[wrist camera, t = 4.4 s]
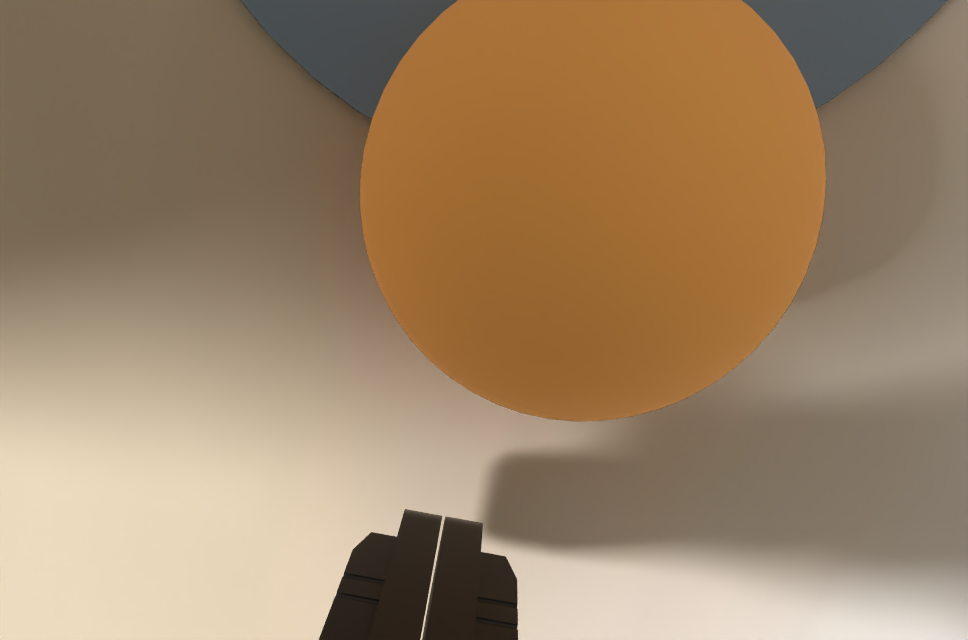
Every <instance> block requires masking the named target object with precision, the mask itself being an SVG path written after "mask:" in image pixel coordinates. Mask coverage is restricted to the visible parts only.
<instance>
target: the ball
mask: <svg viewBox="0 0 968 640" xmlns="http://www.w3.org/2000/svg"><path fill="white" fill-rule="evenodd" d="M825 191H826V165H825V148H824V143H823V138H822V132H821V127H820V122H819V117H818V114H817V111H816V108H815V105H814V102H813V99H812V96H811V94H810V91H809V88H808V86H807V84H806V82H805V80H804V78H803V76H802V74H801V72H800V70H799V68H798V66H797V64H796V62H795V60H794V58H793V57H792V55H791V54H790V53H789V51H788V50H787V48H786V47H785V46H784V44H783V43H782V41H781V40H780V39H779V37H778V36H777V34H776V33H775V32H774V31H773V30H772V29H771V28H770V27H769V25H768V24H767V23H766V22H765V21H764V20H763V19H762V18H761V17H760V16H759V15H758V14H757V13H756V12H755V11H754V10H753V9H752V8H751V7H750V6H748V5H747V4H746V3H744V2H743V1H742V0H458V1H457V2H455V3H454V4H453V5H451V6H450V7H449V8H448V9H446V10H445V11H444V12H442V13H441V14H440V15H439V16H438V17H437V19H436V20H435V21H434V22H433V23H432V24H431V25H430V26H429V27H428V28H427V29H426V30H425V31H424V32H423V33H422V34H421V35H420V36H419V37H418V38H417V40H416V41H415V42H414V44H413V45H412V46H411V48H410V49H409V50H408V52H407V53H406V54H405V56H404V57H403V58H402V60H401V61H400V62H399V64H398V66H397V68H396V69H395V71H394V73H393V75H392V76H391V78H390V80H389V82H388V83H387V85H386V87H385V89H384V91H383V93H382V96H381V98H380V101H379V103H378V106H377V108H376V111H375V113H374V115H373V118H372V121H371V125H370V129H369V133H368V136H367V140H366V144H365V148H364V154H363V162H362V169H361V177H360V211H361V220H362V228H363V237H364V241H365V245H366V249H367V253H368V257H369V261H370V265H371V267H372V270H373V272H374V275H375V278H376V280H377V283H378V285H379V288H380V290H381V292H382V294H383V296H384V298H385V300H386V302H387V303H388V305H389V307H390V309H391V311H392V313H393V315H394V316H395V318H396V320H397V321H398V322H399V324H400V325H401V327H402V328H403V329H404V331H405V332H406V334H407V335H408V336H409V338H410V339H411V340H412V342H413V343H414V344H415V345H416V346H417V347H418V348H419V349H420V350H421V351H422V352H423V354H424V355H425V356H426V357H427V358H428V359H429V360H430V361H431V362H432V363H434V364H435V365H436V366H437V367H438V368H439V369H441V370H442V371H443V372H444V373H445V374H447V375H448V376H449V377H450V378H452V379H453V380H455V381H456V382H458V383H459V384H461V385H462V386H464V387H465V388H467V389H468V390H470V391H471V392H473V393H475V394H477V395H479V396H481V397H483V398H485V399H487V400H489V401H491V402H493V403H495V404H498V405H501V406H504V407H506V408H509V409H512V410H515V411H518V412H521V413H525V414H529V415H534V416H538V417H543V418H547V419H557V420H567V421H604V420H611V419H618V418H625V417H631V416H635V415H639V414H642V413H646V412H650V411H654V410H657V409H661V408H663V407H666V406H668V405H671V404H673V403H676V402H678V401H681V400H683V399H686V398H687V397H689V396H691V395H693V394H695V393H697V392H698V391H700V390H702V389H704V388H706V387H708V386H710V385H711V384H713V383H714V382H715V381H717V380H718V379H720V378H721V377H722V376H724V375H725V374H727V373H728V372H730V371H731V370H732V369H734V368H735V367H736V366H737V365H738V364H739V363H740V362H742V361H743V360H744V359H745V358H746V357H747V356H748V355H749V354H750V353H752V352H753V351H754V350H755V349H756V348H757V347H758V346H759V344H760V343H761V342H762V341H763V340H764V339H765V338H766V336H767V335H768V334H769V333H770V332H771V331H772V330H773V328H774V327H775V326H776V324H777V323H778V321H779V320H780V319H781V317H782V316H783V314H784V313H785V311H786V310H787V308H788V307H789V305H790V304H791V302H792V301H793V299H794V297H795V295H796V293H797V291H798V289H799V287H800V285H801V283H802V281H803V279H804V277H805V275H806V273H807V270H808V267H809V264H810V261H811V259H812V256H813V253H814V250H815V248H816V245H817V240H818V236H819V231H820V227H821V222H822V218H823V213H824V202H825Z"/></svg>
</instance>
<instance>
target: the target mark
mask: <svg viewBox="0 0 968 640" xmlns="http://www.w3.org/2000/svg"><path fill="white" fill-rule="evenodd" d="M241 1H242V2H243V4H244V5H245V6H246V7H247V9H248V10H249V11H250V12H251V13H252V15H253V16H254V17H255V18H256V20H257V21H258V22H259V23H260V25H261V26H262V27H263V28H264V29H265V31H266V32H267V33H268V34H269V35H270V36H271V37H272V38H273V39H274V40H275V41H276V42H277V43H278V44H279V45H280V46H281V47H282V48H283V49H284V50H285V51H286V52H287V53H288V54H289V55H290V56H291V57H292V58H293V59H294V60H295V61H296V62H298V63H299V64H300V65H301V66H302V67H303V68H304V69H305V70H306V71H307V72H308V73H309V74H310V75H311V76H312V77H313V78H315V79H316V80H317V81H319V82H320V83H321V84H323V85H324V86H325V87H326V88H328V89H329V90H330V91H332V92H333V93H334V94H336V95H337V96H338V97H340V98H341V99H342V100H344V101H345V102H346V103H348V104H349V105H350V106H352V107H353V108H354V109H356V110H357V111H358V112H360V113H362V114H364V115H365V116H367V117H369V118H371V119H372V118H373V115H374V113H375V111H376V108H377V106H378V103H379V101H380V98H381V96H382V93H383V91H384V89H385V87H386V85H387V83H388V82H389V80H390V78H391V76H392V75H393V73H394V71H395V69H396V68H397V66H398V64H399V62H400V61H401V60H402V58H403V57H404V56H405V54H406V53H407V52H408V50H409V49H410V48H411V46H412V45H413V44H414V42H415V41H416V40H417V38H418V37H419V36H420V35H421V34H422V33H423V32H424V31H425V30H426V29H427V28H428V27H429V26H430V25H431V24H432V23H433V22H434V21H435V20H436V19H437V17H438V16H439V15H440V14H441V13H442V12H444V11H445V10H446V9H448V8H449V7H450V6H451V5H453V4H454V3H455V2H457V1H458V0H241ZM742 1H743V2H744V3H746V4H747V5H748V6H750V7H751V8H752V9H753V10H754V11H755V12H756V13H757V14H758V15H759V16H760V17H761V18H762V19H763V20H764V21H765V22H766V23H767V24H768V25H769V27H770V28H771V29H772V30H773V31H774V32H775V33H776V34H777V36H778V37H779V39H780V40H781V41H782V43H783V44H784V46H785V47H786V48H787V50H788V51H789V53H790V54H791V55H792V57H793V58H794V60H795V62H796V64H797V66H798V68H799V70H800V72H801V74H802V76H803V78H804V80H805V82H806V84H807V86H808V88H809V91H810V94H811V96H812V99H813V102H814V105H815V108H818V107H820V106H821V105H823V104H825V103H827V102H828V101H830V100H831V99H833V98H834V97H835V96H837V95H838V94H839V93H841V92H842V91H844V90H845V89H846V88H848V87H849V86H850V85H852V84H853V83H855V82H856V81H857V80H859V79H860V78H861V77H863V76H864V75H866V74H867V73H868V72H870V71H871V70H872V69H874V68H875V67H877V66H878V65H879V64H881V63H882V62H883V61H884V60H885V59H886V58H887V57H888V56H889V55H891V54H892V53H893V52H894V51H895V50H896V49H897V48H898V47H899V46H900V45H902V44H903V43H904V42H905V41H906V40H907V39H908V38H909V37H910V36H912V35H913V34H914V33H915V32H916V31H917V30H918V29H919V28H920V27H921V26H923V25H924V24H925V23H926V22H927V21H928V20H929V19H930V18H931V17H932V16H933V15H934V14H935V13H936V12H937V11H938V10H939V9H940V7H941V6H942V5H943V4H944V3H945V2H946V1H947V0H742Z"/></svg>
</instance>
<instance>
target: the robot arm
mask: <svg viewBox="0 0 968 640" xmlns="http://www.w3.org/2000/svg"><path fill="white" fill-rule="evenodd" d="M441 520H442V516H440V515H434V514H429V513H423V512H418V511H412V510H407V509H405V511H404V514H403V518H402V521H401V525H400V528H399V532H398V536H397V537H395V536H389V535H384V534H378V533H373V532H371V533H370V534H369V535H368V536H367V537H366V538H365V539H364V540H363V541H362V542H360V543H359V544H358V545H357V546H356V547H355V548H354V549H353V551H352V553H351V556H350V558H349V561H348V564H347V566H346V569H345V572H344V576H343V577H342V580H341V582H340V585H339V588H338V590H337V594H336V597H335V598H334V601H333V604H332V606H331V609H330V612H329V614H328V617H327V619H326V622H325V625H324V627H323V630H322V633H321V635H320V638H319V640H420V638H421V632H422V627H423V621H424V615H425V610H426V604H427V598H428V593H429V587H430V582H431V576H432V570H433V565H434V559H435V553H436V548H437V542H438V537H439V531H440V525H441ZM482 527H483V525H482V523H479V522H473V521H468V520H462V519H457V518H451V517H446V516H445V521H444V526H443V531H442V536H441V541H440V547H439V552H438V557H437V562H436V567H435V572H434V577H433V583H432V588H431V593H430V599H429V604H428V610H427V615H426V621H425V627H424V633H423V638H422V640H518V630H517V625H518V611H517V578H516V576H515V574H514V572H513V570H512V568H511V566H510V564H509V562H508V560H507V558H506V557H505V556H500V555H494V554H489V553H483V552H481V542H482Z"/></svg>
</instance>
